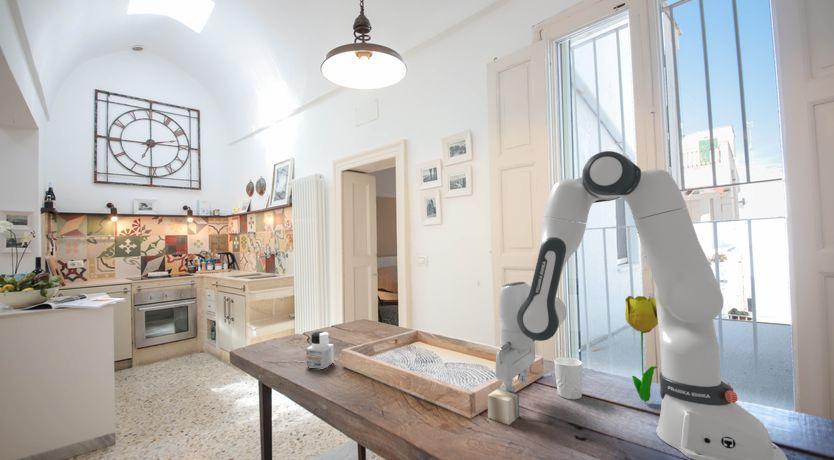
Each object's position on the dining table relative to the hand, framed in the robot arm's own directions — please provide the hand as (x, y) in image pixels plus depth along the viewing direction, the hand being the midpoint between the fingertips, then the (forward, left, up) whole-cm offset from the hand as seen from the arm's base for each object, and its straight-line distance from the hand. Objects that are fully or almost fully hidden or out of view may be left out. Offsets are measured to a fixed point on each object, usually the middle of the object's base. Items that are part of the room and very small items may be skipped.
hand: (517, 387), depth 104 cm
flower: (-29, -21, -5) cm, 36 cm away
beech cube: (0, +6, -2) cm, 6 cm away
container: (+76, +11, -5) cm, 77 cm away
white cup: (-10, -15, -5) cm, 19 cm away
